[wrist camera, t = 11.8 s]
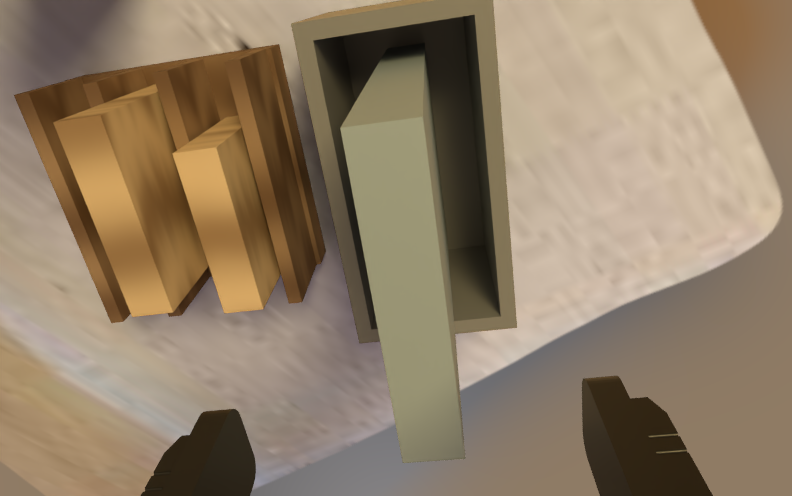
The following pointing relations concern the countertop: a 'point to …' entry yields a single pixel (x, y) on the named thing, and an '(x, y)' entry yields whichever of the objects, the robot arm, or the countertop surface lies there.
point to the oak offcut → (136, 198)
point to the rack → (188, 118)
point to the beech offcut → (229, 215)
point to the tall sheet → (407, 251)
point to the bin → (455, 137)
